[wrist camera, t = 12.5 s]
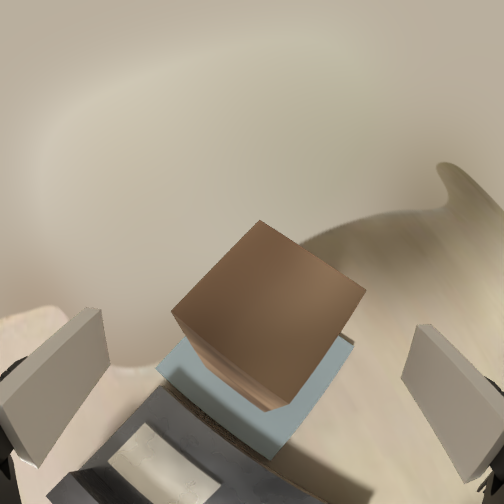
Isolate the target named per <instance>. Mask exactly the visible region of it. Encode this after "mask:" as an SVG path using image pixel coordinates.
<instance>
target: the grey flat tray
mask: <svg viewBox="0 0 504 504" xmlns="http://www.w3.org/2000/svg"><path fill="white" fill-rule="evenodd" d="M46 497H47V498H48V499H49V500H50V501H51V503H52V504H330V503H328V502H326V501H324V500H322V499H321V498H319V497H317V496H315V495H313V494H311V493H310V492H308V491H306V490H304V489H303V488H301V487H299V486H297V485H296V484H294V483H292V482H291V481H289V480H287V479H286V478H284V477H283V476H281V475H279V474H278V473H276V472H275V471H273V470H271V469H270V468H268V467H267V466H265V465H264V464H262V463H261V462H259V461H258V460H256V459H255V458H254V457H252V456H251V455H249V454H248V453H246V452H245V451H244V450H242V449H241V448H239V447H238V446H237V445H235V444H234V443H233V442H231V441H230V440H228V439H227V438H226V437H224V436H223V435H222V434H221V433H219V432H218V431H217V430H215V429H214V428H213V427H212V426H210V425H209V424H208V423H207V422H205V421H204V420H203V419H202V418H200V417H199V416H198V415H197V414H196V413H194V412H193V411H192V410H191V409H190V408H188V407H187V406H186V405H185V404H184V403H183V402H182V401H180V400H179V399H178V398H177V397H176V396H175V395H174V394H172V393H171V392H170V391H169V390H168V389H167V388H165V387H163V386H159V387H158V388H157V389H156V390H155V391H154V392H153V393H152V394H151V395H150V396H149V397H148V398H147V400H146V401H145V402H144V403H143V404H142V405H141V406H140V407H139V408H138V409H137V410H136V411H135V412H134V413H133V414H132V415H131V417H130V418H129V419H128V420H127V421H126V422H125V423H124V424H123V425H122V426H121V427H120V428H119V429H118V430H117V431H116V432H115V433H114V434H113V435H112V436H111V438H110V439H109V440H108V441H107V442H106V443H105V444H104V445H103V446H102V447H101V448H100V449H99V450H98V451H97V452H96V453H95V454H94V455H93V456H92V457H91V458H90V459H89V460H88V461H87V462H86V463H85V464H84V465H83V466H82V467H81V468H80V469H79V470H78V471H73V472H69V473H68V474H67V475H66V476H65V477H64V478H63V479H62V480H61V481H60V482H59V483H58V484H57V485H56V486H55V487H54V488H53V489H52V490H51V491H50V492H49V493H48V494H47V495H46Z"/></svg>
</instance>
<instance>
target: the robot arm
mask: <svg viewBox="0 0 504 504" xmlns="http://www.w3.org/2000/svg"><path fill="white" fill-rule="evenodd" d="M109 366H110V360H109V354H108V349H107V344H106V338H105V332H104V326H103V320H102V312H101V309H96V308H88V307H86V308H84V309H83V310H82V311H81V312H79V313H78V314H77V315H76V316H75V317H73V318H72V319H71V320H70V321H69V322H67V323H66V324H65V325H64V326H63V327H62V328H60V329H59V330H58V331H57V332H56V333H55V334H53V335H52V336H51V337H50V338H49V339H48V340H46V341H45V342H44V343H43V344H42V345H41V346H40V347H38V348H37V349H36V350H35V351H34V352H33V353H32V354H31V355H29V356H26V357H24V358H22V359H20V360H18V361H16V362H15V363H13V364H12V365H11V366H10V367H9V368H8V369H7V371H5V372H3V373H2V374H1V377H0V504H22V503H21V499H20V495H19V490H18V485H17V480H16V475H15V469H14V463H13V460H12V457H11V455H10V453H11V452H12V450H13V449H14V450H15V451H16V453H17V455H18V456H19V458H20V459H21V460H22V461H24V462H25V463H27V464H29V465H31V466H33V467H35V468H37V469H39V467H40V466H41V464H42V463H43V461H44V459H45V458H46V456H47V455H48V453H49V452H50V450H51V449H52V447H53V446H54V444H55V443H56V441H57V440H58V438H59V437H60V435H61V434H62V432H63V431H64V429H65V428H66V426H67V425H68V424H69V422H70V421H71V419H72V418H73V416H74V415H75V413H76V412H77V410H78V409H79V408H80V406H81V405H82V403H83V402H84V401H85V399H86V398H87V396H88V395H89V393H90V392H91V391H92V389H93V388H94V386H95V385H96V384H97V382H98V381H99V379H100V378H101V377H102V375H103V374H104V373H105V371H106V370H107V368H108V367H109ZM401 379H402V381H403V382H404V384H405V385H406V387H407V388H408V390H409V392H410V393H411V395H412V396H413V398H414V400H415V401H416V403H417V404H418V406H419V408H420V409H421V411H422V412H423V414H424V416H425V417H426V419H427V421H428V422H429V424H430V426H431V427H432V429H433V430H434V432H435V434H436V436H437V437H438V439H439V441H440V442H441V444H442V446H443V447H444V449H445V451H446V453H447V454H448V456H449V458H450V460H451V461H452V463H453V465H454V467H455V468H456V470H457V472H458V474H459V476H460V477H461V479H462V481H463V483H464V484H465V483H468V482H470V481H472V480H475V479H477V478H479V477H481V475H482V474H483V473H484V472H485V470H486V469H487V468H488V467H489V465H490V467H491V468H492V470H493V471H492V472H491V473H490V475H489V476H488V477H487V478H486V479H485V481H484V482H483V483H482V484H481V485H480V486H479V488H478V490H477V492H480V491H481V489H482V488H483V487H484V486H485V485H486V489H485V490H484V491H483V493H485V494H484V498H483V502H482V504H504V392H503V391H501V389H500V388H499V387H498V386H497V385H496V383H495V382H493V381H492V380H490V379H488V378H487V377H485V376H483V375H482V374H481V373H480V372H479V371H478V370H477V369H476V368H475V367H474V366H473V365H472V364H471V363H470V362H469V361H468V360H467V359H466V358H465V357H464V356H463V355H462V354H461V353H460V352H459V351H458V350H457V349H456V348H455V347H454V346H453V345H452V344H451V343H450V342H449V341H448V340H447V339H446V338H445V337H444V336H443V335H442V334H441V333H440V332H439V331H438V330H437V329H436V328H434V327H433V326H432V325H431V324H425V325H417V326H416V330H415V334H414V337H413V341H412V344H411V348H410V351H409V354H408V357H407V360H406V364H405V367H404V370H403V373H402V376H401Z"/></svg>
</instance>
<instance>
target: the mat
mask: <svg viewBox="0 0 504 504" xmlns="http://www.w3.org/2000/svg"><path fill="white" fill-rule="evenodd" d="M353 348H354V346H353V345H351V344H350V343H348V342H347V341H346V340H344V339H343V338H341V337H340V336H338V337H337V338H336V340H335V341H334V343H333V344H332V346H331V347H330V349H329V350H328V352H327V353H326V355H325V356H324V357H323V359H322V360H321V362H320V363H319V365H318V366H317V367H316V369H315V370H314V372H313V373H312V374H311V376H310V377H309V379H308V380H307V381H306V383H305V384H304V385H303V387H302V388H301V389H300V391H299V392H298V393H297V395H296V396H295V397H294V399H293V400H292V401H291V403H290V404H288V405H285V406H283V407H280V408H277V409H274V410H271V411H268V412H263V411H262V410H260V409H259V408H258V407H256V406H255V405H253V404H252V403H251V402H249V401H248V400H247V399H245V398H244V397H243V396H241V395H240V394H239V393H237V392H236V391H235V390H234V389H232V388H231V387H230V386H228V385H227V384H226V383H225V382H223V381H222V380H221V379H219V378H218V377H217V376H216V375H215V374H213V373H212V372H211V371H210V370H208V369H207V368H206V367H205V366H204V364H203V362H202V361H201V359H200V358H199V356H198V355H197V353H196V352H195V350H194V348H193V347H192V345H191V344H190V342H189V340H188V339H187V337H186V336H185V337H184V338H183V339H182V340H181V341H180V342H179V343H178V345H176V346H175V348H174V349H173V350H172V351H171V352H170V353H169V354H168V355H167V356H166V357H165V358H164V359H163V360H162V362H161V363H160V364H159V365H158V366H157V367H156V368H155V369H156V370H157V371H158V372H159V373H160V374H161V375H162V376H163V377H165V378H166V379H167V380H168V381H169V382H170V383H171V384H172V385H173V386H174V387H176V388H177V389H178V390H179V391H180V392H181V393H182V394H184V395H185V396H186V397H187V398H188V399H189V400H190V401H192V402H193V403H194V404H195V405H196V406H198V407H199V408H200V409H201V410H202V411H204V412H205V413H206V414H207V415H209V416H210V417H211V418H212V419H214V420H215V421H216V422H217V423H219V424H220V425H221V426H223V427H224V428H225V429H226V430H228V431H229V432H230V433H232V434H233V435H234V436H236V437H237V438H238V439H240V440H241V441H243V442H244V443H245V444H247V445H248V446H250V447H251V448H252V449H254V450H255V451H257V452H258V453H260V454H261V455H263V456H264V457H266V458H267V459H269V460H270V461H271V460H272V458H273V457H274V456H275V455H276V454H277V453H278V451H279V450H280V449H281V448H282V447H283V445H284V444H285V443H286V442H287V441H288V439H289V438H290V437H291V436H292V434H293V433H294V432H295V431H296V429H297V428H298V427H299V425H300V424H301V423H302V422H303V420H304V419H305V418H306V416H307V415H308V414H309V412H310V411H311V410H312V408H313V407H314V406H315V404H316V403H317V401H318V400H319V399H320V397H321V396H322V394H323V393H324V392H325V390H326V389H327V387H328V386H329V385H330V383H331V382H332V380H333V379H334V377H335V376H336V374H337V373H338V371H339V370H340V368H341V367H342V365H343V364H344V362H345V361H346V359H347V357H348V356H349V354H350V353H351V351H352V350H353Z"/></svg>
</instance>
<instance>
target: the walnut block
mask: <svg viewBox="0 0 504 504" xmlns="http://www.w3.org/2000/svg"><path fill="white" fill-rule="evenodd" d="M365 292H366V289H364V288H363V287H361V286H360V285H358V284H357V283H355V282H354V281H352V280H351V279H349V278H348V277H346V276H345V275H343V274H342V273H340V272H339V271H337V270H336V269H334V268H333V267H331V266H330V265H328V264H327V263H325V262H324V261H322V260H321V259H319V258H318V257H316V256H315V255H313V254H312V253H310V252H309V251H307V250H306V249H304V248H303V247H301V246H300V245H298V244H296V243H295V242H293V241H292V240H290V239H289V238H287V237H285V236H284V235H283V234H281V233H279V232H278V231H276V230H275V229H273V228H272V227H270V226H268V225H267V224H265V223H264V222H262V221H261V220H259V221H258V222H257V223H256V224H255V225H254V226H253V227H252V228H251V229H250V230H249V231H248V232H247V233H246V234H245V235H244V236H243V237H242V238H241V239H240V240H239V241H238V242H237V244H236V245H234V247H232V248H231V249H230V251H229V252H228V253H227V254H226V255H225V256H224V257H223V258H222V259H221V260H220V261H219V262H218V263H217V264H216V265H215V266H214V267H213V268H212V269H211V270H210V271H209V272H208V273H207V274H206V275H205V276H204V278H202V279H201V280H200V281H199V282H198V283H197V285H195V287H194V288H193V289H192V290H191V291H190V292H189V293H188V294H187V295H186V296H185V297H184V298H183V299H182V300H181V301H180V302H179V303H178V304H177V305H176V306H175V307H174V308H173V310H171V312H172V314H173V316H174V317H175V319H176V321H177V322H178V324H179V326H180V327H181V329H182V331H183V332H184V334H185V336H186V337H187V339H188V340H189V342H190V344H191V345H192V347H193V348H194V350H195V352H196V353H197V355H198V356H199V358H200V359H201V361H202V362H203V364H204V366H205V367H206V368H207V369H208V370H210V371H211V372H212V373H213V374H215V375H216V376H217V377H218V378H219V379H221V380H222V381H223V382H225V383H226V384H227V385H228V386H230V387H231V388H232V389H234V390H235V391H236V392H237V393H239V394H240V395H241V396H243V397H244V398H245V399H247V400H248V401H249V402H251V403H252V404H253V405H255V406H256V407H258V408H259V409H260V410H262V411H263V412H268V411H271V410H274V409H277V408H280V407H283V406H285V405H288V404H290V403H291V401H292V400H293V399H294V397H295V396H296V395H297V393H298V392H299V391H300V389H301V388H302V387H303V385H304V384H305V383H306V381H307V380H308V379H309V377H310V376H311V374H312V373H313V372H314V370H315V369H316V367H317V366H318V365H319V363H320V362H321V360H322V359H323V357H324V356H325V355H326V353H327V352H328V350H329V349H330V347H331V346H332V344H333V343H334V341H335V340H336V338H337V337H338V335H339V334H340V332H341V331H342V329H343V328H344V326H345V324H346V323H347V321H348V320H349V318H350V316H351V315H352V313H353V312H354V310H355V308H356V307H357V305H358V304H359V302H360V300H361V299H362V297H363V295H364V294H365Z"/></svg>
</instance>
